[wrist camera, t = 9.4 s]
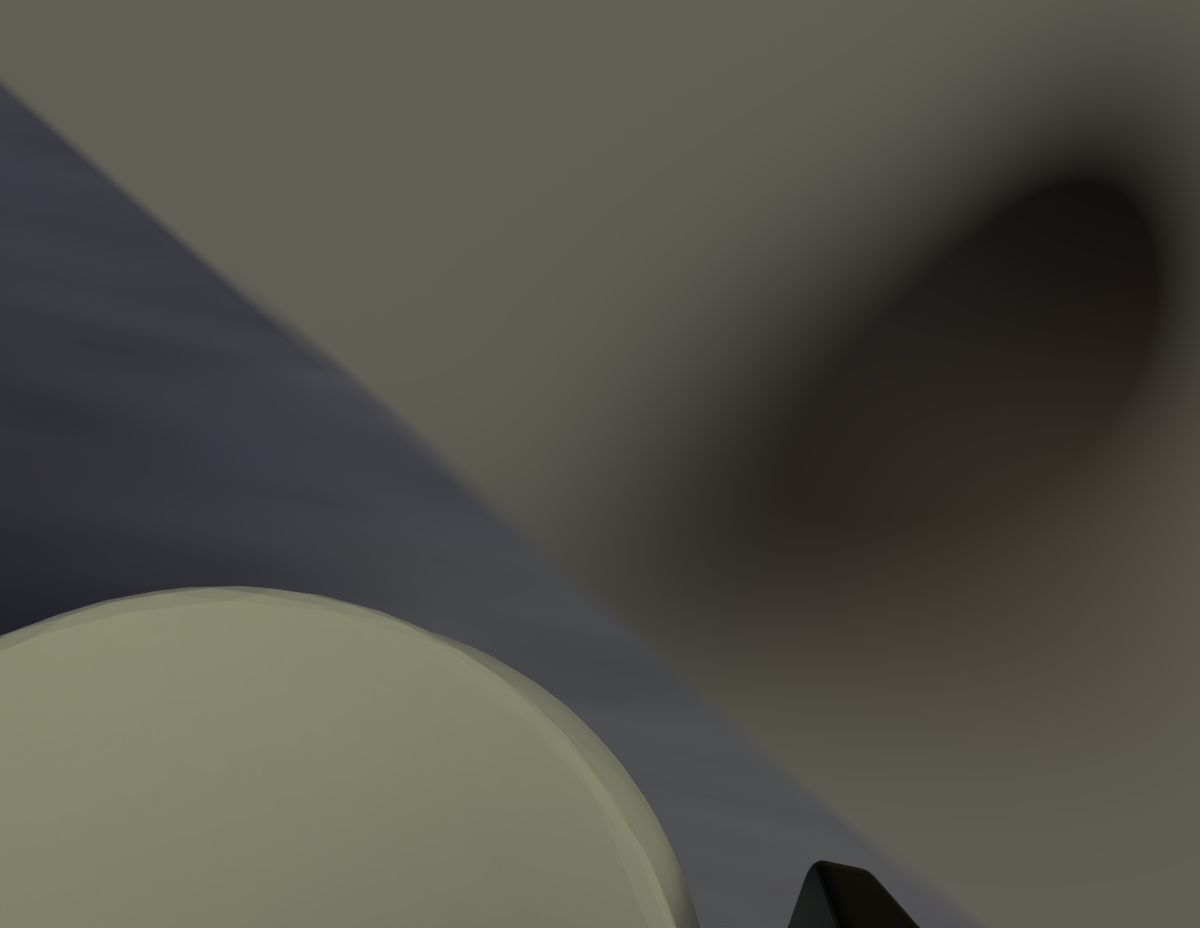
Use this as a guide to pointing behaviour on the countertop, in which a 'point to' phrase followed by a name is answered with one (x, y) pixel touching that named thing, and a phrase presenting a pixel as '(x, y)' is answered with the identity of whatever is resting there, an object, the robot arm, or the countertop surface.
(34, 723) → the pill bottle
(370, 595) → the countertop surface
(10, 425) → the countertop surface
